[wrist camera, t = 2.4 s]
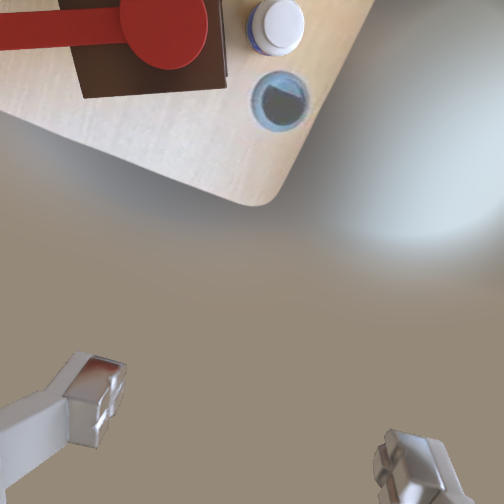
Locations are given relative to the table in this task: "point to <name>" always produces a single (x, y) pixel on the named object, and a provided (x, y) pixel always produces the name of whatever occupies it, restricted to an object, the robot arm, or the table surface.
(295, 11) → the pill bottle
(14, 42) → the red lever with knob
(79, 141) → the table surface
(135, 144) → the table surface
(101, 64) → the stand
